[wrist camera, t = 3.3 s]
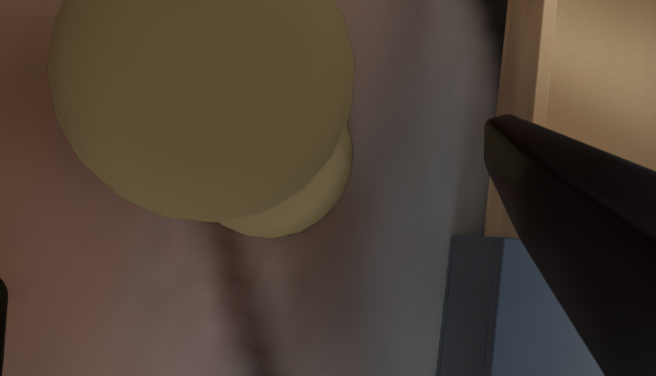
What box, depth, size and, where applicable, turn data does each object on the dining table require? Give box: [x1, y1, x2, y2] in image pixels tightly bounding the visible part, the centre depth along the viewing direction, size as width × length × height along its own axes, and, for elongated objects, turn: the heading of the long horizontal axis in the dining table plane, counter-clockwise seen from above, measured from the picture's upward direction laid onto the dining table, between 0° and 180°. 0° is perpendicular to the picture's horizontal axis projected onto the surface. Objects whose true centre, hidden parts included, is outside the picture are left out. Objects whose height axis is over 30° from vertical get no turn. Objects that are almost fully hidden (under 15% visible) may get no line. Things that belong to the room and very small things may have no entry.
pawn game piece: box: [47, 0, 355, 238], centre depth 13 cm, size 6×6×11 cm
